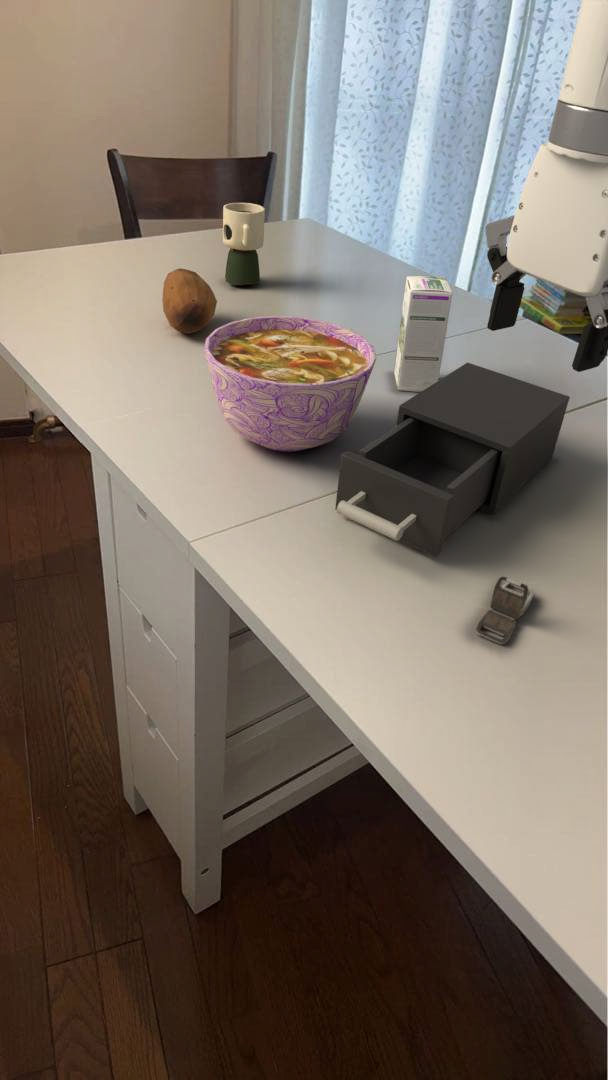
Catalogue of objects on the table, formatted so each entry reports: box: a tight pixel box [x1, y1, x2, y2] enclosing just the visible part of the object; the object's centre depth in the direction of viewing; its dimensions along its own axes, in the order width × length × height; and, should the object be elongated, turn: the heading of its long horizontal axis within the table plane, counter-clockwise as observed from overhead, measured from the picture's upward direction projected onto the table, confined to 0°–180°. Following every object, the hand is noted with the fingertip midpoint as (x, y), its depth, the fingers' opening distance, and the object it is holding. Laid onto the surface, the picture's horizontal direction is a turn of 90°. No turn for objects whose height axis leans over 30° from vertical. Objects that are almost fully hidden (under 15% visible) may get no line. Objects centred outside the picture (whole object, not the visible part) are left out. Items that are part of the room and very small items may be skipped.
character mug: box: [222, 202, 266, 287], centre depth 140 cm, size 11×7×13 cm, turn 9°
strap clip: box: [475, 575, 534, 645], centre depth 73 cm, size 8×3×4 cm, turn 148°
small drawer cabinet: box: [395, 362, 571, 516], centre depth 94 cm, size 17×14×9 cm
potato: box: [162, 268, 218, 335], centre depth 123 cm, size 8×14×8 cm
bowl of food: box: [204, 315, 377, 453], centre depth 96 cm, size 20×20×12 cm
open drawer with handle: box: [334, 417, 502, 557], centre depth 84 cm, size 20×12×7 cm, turn 143°
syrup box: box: [393, 275, 453, 393], centre depth 110 cm, size 6×6×14 cm
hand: (541, 347), depth 71 cm, fingers open, 9 cm apart
